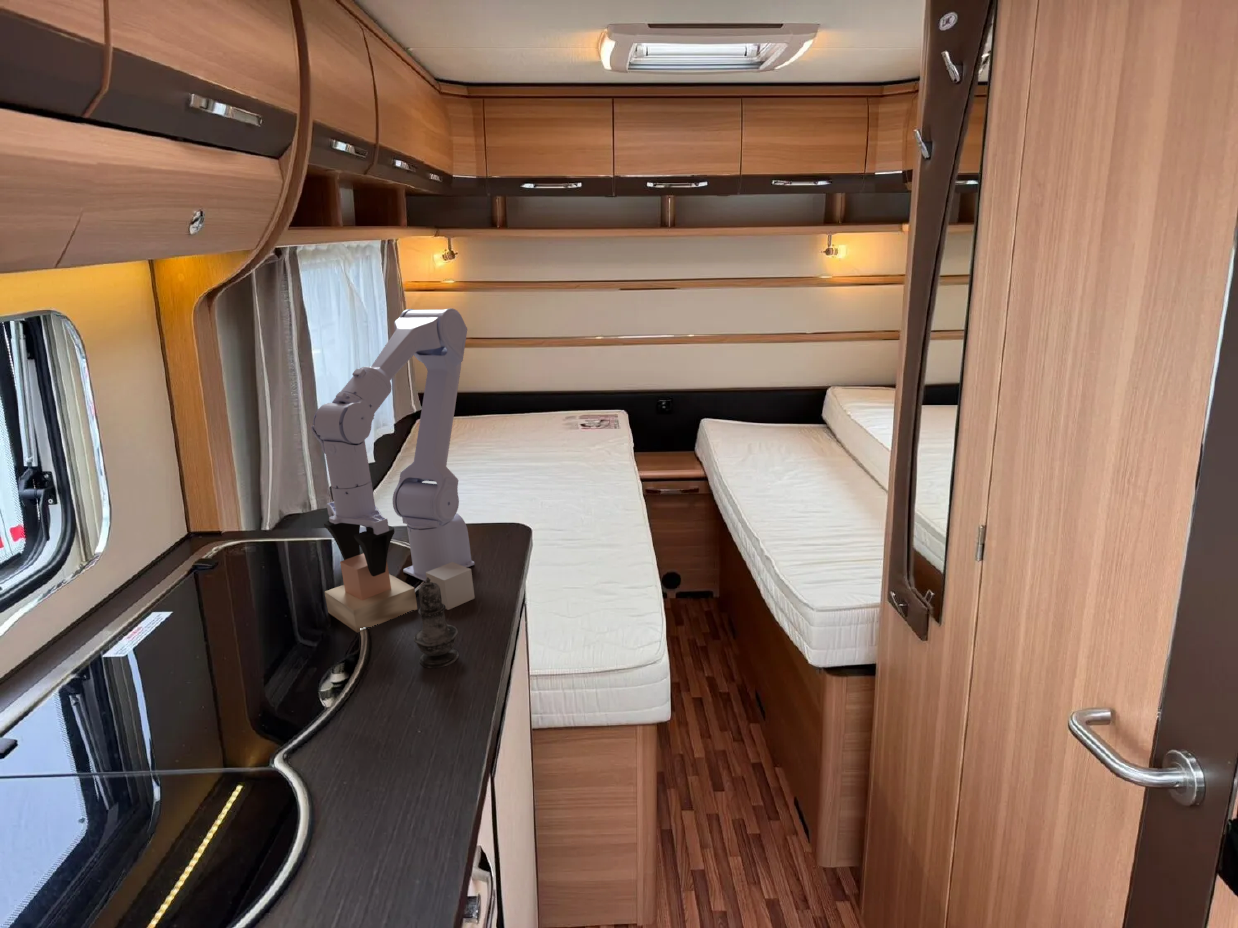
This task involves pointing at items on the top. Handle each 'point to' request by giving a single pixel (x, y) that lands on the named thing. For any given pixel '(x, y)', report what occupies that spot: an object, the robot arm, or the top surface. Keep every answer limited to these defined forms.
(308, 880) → the top surface
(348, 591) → the terracotta cube
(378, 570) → the robot arm
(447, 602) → the grey cube
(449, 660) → the dark tall tiered piece
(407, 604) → the birch block
